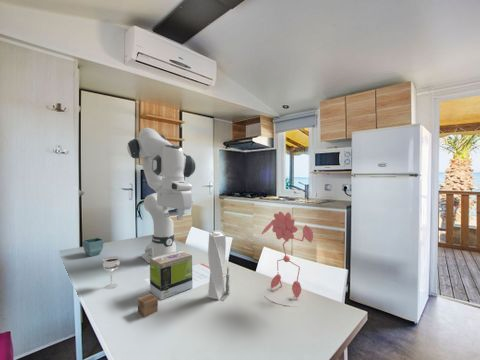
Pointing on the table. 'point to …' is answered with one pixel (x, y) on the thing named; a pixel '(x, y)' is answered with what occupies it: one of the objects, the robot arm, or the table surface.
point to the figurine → (285, 230)
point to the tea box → (170, 274)
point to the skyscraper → (217, 266)
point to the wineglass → (111, 268)
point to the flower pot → (93, 246)
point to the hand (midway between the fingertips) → (173, 218)
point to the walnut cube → (147, 305)
